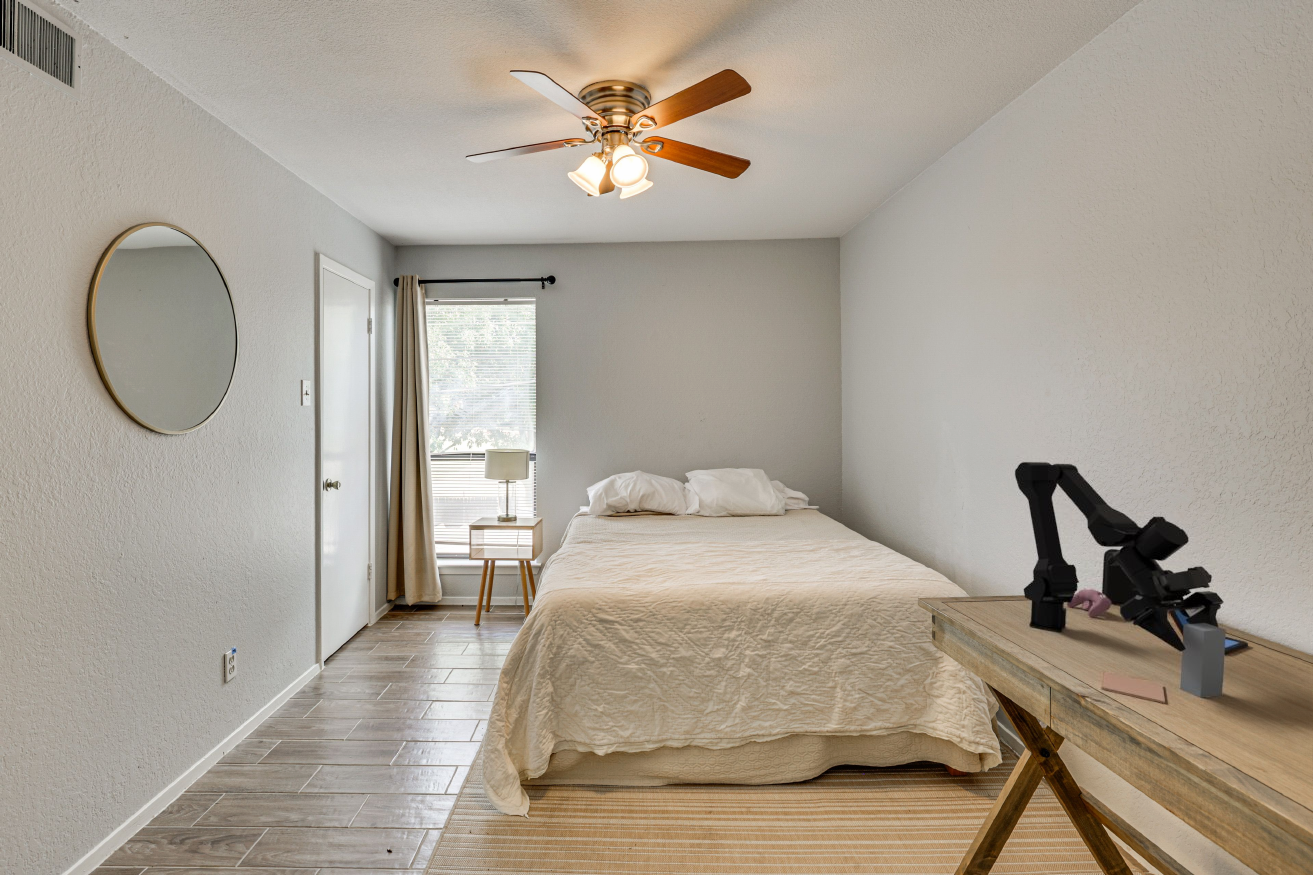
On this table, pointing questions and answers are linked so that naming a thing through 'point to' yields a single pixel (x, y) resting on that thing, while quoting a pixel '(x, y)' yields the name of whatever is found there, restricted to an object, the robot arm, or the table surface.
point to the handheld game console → (1230, 643)
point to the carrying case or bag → (1116, 582)
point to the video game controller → (1091, 602)
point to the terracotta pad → (1133, 687)
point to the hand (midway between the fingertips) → (1202, 648)
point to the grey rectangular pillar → (1203, 660)
